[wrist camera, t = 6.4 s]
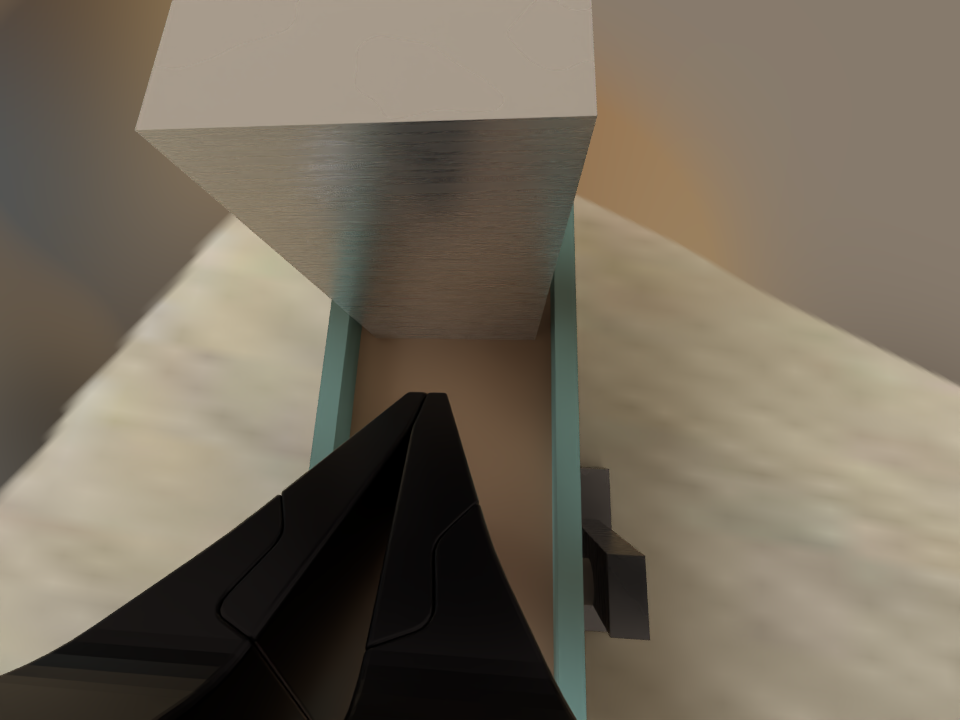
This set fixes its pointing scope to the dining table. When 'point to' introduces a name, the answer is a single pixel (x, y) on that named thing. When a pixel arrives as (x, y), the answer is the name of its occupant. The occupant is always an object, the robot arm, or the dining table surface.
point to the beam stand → (611, 566)
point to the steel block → (389, 146)
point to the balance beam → (494, 448)
